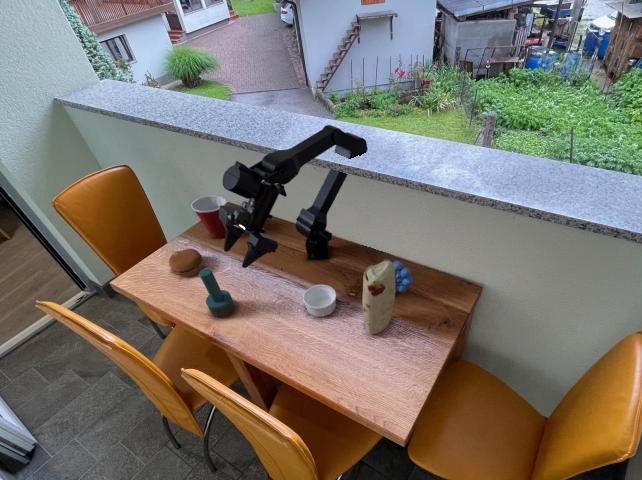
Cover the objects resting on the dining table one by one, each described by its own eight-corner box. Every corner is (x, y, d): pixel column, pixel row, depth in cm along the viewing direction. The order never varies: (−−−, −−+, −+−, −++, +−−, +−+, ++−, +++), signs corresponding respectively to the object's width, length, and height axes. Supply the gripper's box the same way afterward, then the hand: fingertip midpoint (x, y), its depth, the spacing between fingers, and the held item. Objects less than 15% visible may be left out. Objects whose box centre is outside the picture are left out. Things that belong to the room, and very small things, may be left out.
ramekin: (323, 290, 100) (322, 279, 96) (344, 306, 95) (343, 295, 92) (299, 306, 95) (296, 295, 92) (319, 324, 91) (317, 313, 88)
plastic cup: (243, 229, 121) (232, 199, 112) (219, 246, 114) (206, 215, 106) (222, 220, 125) (210, 190, 116) (197, 236, 119) (183, 205, 110)
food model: (377, 343, 87) (377, 286, 72) (357, 330, 89) (353, 273, 75) (399, 319, 92) (404, 262, 77) (379, 308, 95) (380, 250, 80)
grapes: (417, 290, 99) (421, 257, 90) (406, 305, 95) (409, 273, 86) (382, 276, 103) (382, 244, 94) (370, 290, 99) (369, 258, 91)
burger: (198, 277, 104) (192, 266, 101) (167, 277, 104) (160, 266, 101) (209, 256, 111) (203, 245, 107) (180, 257, 111) (174, 245, 108)
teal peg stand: (238, 301, 97) (222, 263, 87) (231, 318, 93) (213, 281, 83) (216, 300, 98) (197, 263, 87) (208, 318, 93) (187, 280, 83)
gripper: (213, 178, 84) (188, 235, 87) (254, 208, 75) (224, 270, 78) (250, 195, 93) (226, 246, 96) (291, 223, 84) (263, 278, 87)
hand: (234, 259), depth 89 cm, fingers open, 9 cm apart
